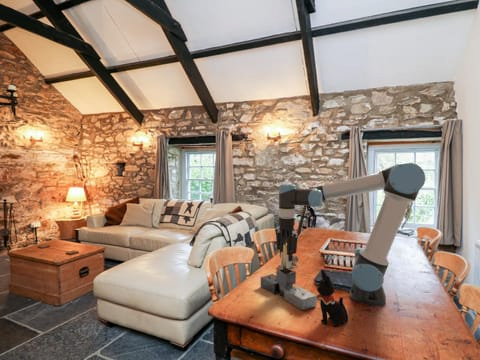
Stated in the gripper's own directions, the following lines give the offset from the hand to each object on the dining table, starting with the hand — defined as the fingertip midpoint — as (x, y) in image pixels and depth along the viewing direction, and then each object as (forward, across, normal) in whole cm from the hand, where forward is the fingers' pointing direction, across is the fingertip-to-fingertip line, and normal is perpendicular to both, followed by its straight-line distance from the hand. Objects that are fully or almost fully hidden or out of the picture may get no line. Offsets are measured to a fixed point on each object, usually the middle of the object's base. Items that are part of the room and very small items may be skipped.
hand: (286, 266), depth 135 cm
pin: (+4, 0, 0) cm, 4 cm away
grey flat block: (+13, -10, +1) cm, 16 cm away
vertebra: (+14, +24, -29) cm, 40 cm away
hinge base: (+14, +5, 0) cm, 15 cm away
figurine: (+14, -28, +2) cm, 31 cm away
